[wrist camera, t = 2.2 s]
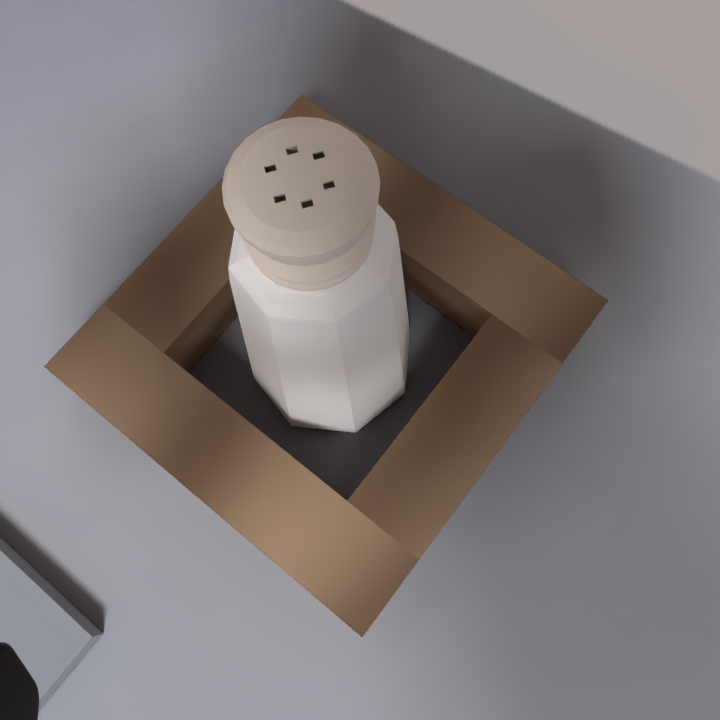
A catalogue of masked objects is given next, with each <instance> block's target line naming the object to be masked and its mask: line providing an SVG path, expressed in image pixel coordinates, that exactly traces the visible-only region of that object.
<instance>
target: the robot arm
mask: <svg viewBox="0 0 720 720" xmlns="http://www.w3.org/2000/svg"><path fill="white" fill-rule="evenodd" d="M38 711H39V691H38V687H37V684H36V682H35V680H34V679H33V677H32V676H31V674H30V673H29V671H28V670H27V668H26V667H25V665H24V664H23V662H22V661H21V659H20V658H19V657H18V655H17V654H16V652H15V651H14V649H13V648H12V647H11V645H9V644H7V643H5V642H0V720H38Z"/></svg>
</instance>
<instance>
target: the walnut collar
mask: <svg viewBox="0 0 720 720" xmlns="http://www.w3.org/2000/svg"><path fill="white" fill-rule="evenodd" d="M294 117H312V118H322V119H325V120H328V121H331V122H334V123H337V124H340V125H341V126H343V127H345V128H346V129H348V130H349V131H351V132H353V133H354V134H356V135H357V136H358V137H359V138H360V139H361V140H362V142H363V143H364V144H365V145H366V146H367V147H368V148H369V150H370V152H371V154H372V156H373V158H374V159H375V161H376V163H377V167H378V172H379V178H380V190H379V199H378V204H379V205H380V206H381V208H382V209H383V210H384V211H385V212H386V213H387V214H388V215H389V216H390V217H391V218H392V219H393V221H394V222H395V225H396V229H397V233H398V238H399V246H400V254H401V262H402V270H403V278H404V286H405V287H406V288H407V289H409V290H410V291H411V292H413V293H414V294H416V295H417V296H418V297H420V298H421V299H423V300H424V301H425V302H427V303H428V304H430V305H431V306H432V307H434V308H435V309H437V310H438V311H439V312H441V313H442V314H444V315H445V316H446V317H448V318H449V319H451V320H452V321H453V322H455V323H456V324H458V325H459V326H460V327H462V328H463V329H465V330H466V331H467V332H469V333H470V334H472V335H473V336H474V338H473V339H472V341H471V342H470V343H469V345H468V346H467V347H466V348H465V350H464V351H463V352H462V354H461V355H460V356H459V357H458V359H457V360H456V361H455V363H454V364H453V365H452V366H451V368H450V369H449V370H448V372H447V373H446V374H445V375H444V377H443V378H442V379H441V381H440V382H439V383H438V384H437V386H436V387H435V388H434V390H433V391H432V392H431V393H430V395H429V396H428V397H427V399H426V400H425V401H424V403H423V404H422V405H421V406H420V408H419V409H418V410H417V412H416V413H415V414H414V415H413V417H412V418H411V419H410V421H409V422H408V423H407V424H406V426H405V427H404V428H403V430H402V431H401V432H400V433H399V435H398V436H397V437H396V439H395V440H394V441H393V442H392V444H391V445H390V446H389V448H388V449H387V450H386V451H385V453H384V454H383V455H382V457H381V458H380V459H379V460H378V462H377V463H376V464H375V466H374V467H373V468H372V470H371V471H370V472H369V473H368V475H367V476H366V477H365V479H364V480H363V481H362V482H361V484H360V485H359V486H358V488H357V489H356V490H355V491H354V493H353V494H352V495H351V497H350V498H349V499H348V500H345V499H344V498H343V497H342V496H340V495H339V494H338V493H337V492H335V491H334V490H333V489H332V488H330V487H329V486H328V485H327V484H326V483H324V482H323V481H322V480H321V479H319V478H318V477H317V476H316V475H314V474H313V473H312V472H311V471H309V470H308V469H307V468H306V467H304V466H303V465H302V464H301V463H300V462H298V461H297V460H296V459H295V458H293V457H292V456H291V455H290V454H288V453H287V452H286V451H285V450H283V449H282V448H281V447H280V446H278V445H277V444H276V443H275V442H273V441H272V440H271V439H270V438H269V437H267V436H266V435H265V434H264V433H262V432H261V431H260V430H259V429H257V428H256V427H255V426H254V425H252V424H251V423H250V422H249V421H247V420H246V419H245V418H244V417H243V416H241V415H240V414H239V413H238V412H236V411H235V410H234V409H233V408H231V407H230V406H229V405H228V404H226V403H225V402H224V401H223V400H221V399H220V398H219V397H218V396H216V395H215V394H214V393H213V392H212V391H210V390H209V389H208V388H207V387H205V386H204V385H203V384H202V383H200V382H199V381H198V380H197V379H195V378H194V377H193V376H192V375H190V374H189V373H188V371H189V370H190V369H191V368H192V367H193V366H194V365H195V363H196V362H197V361H198V360H199V359H200V358H201V357H202V356H203V354H204V353H205V352H206V351H207V350H208V349H209V348H210V347H211V345H212V344H213V343H214V342H215V341H216V340H217V339H218V338H219V336H220V335H221V334H222V333H223V332H224V331H225V330H226V328H227V327H228V326H229V325H230V324H231V323H232V322H233V321H234V319H235V318H236V317H237V316H238V313H237V309H236V305H235V301H234V297H233V293H232V289H231V285H230V279H229V271H228V265H229V258H230V253H231V247H232V241H233V236H234V230H235V228H234V227H233V225H232V223H231V221H230V219H229V216H228V214H227V212H226V209H225V207H224V204H223V195H222V182H223V179H222V180H221V181H220V182H219V183H218V184H217V185H216V186H215V187H214V188H213V189H212V190H211V191H210V192H209V193H208V194H207V196H206V197H205V198H204V199H203V200H202V201H201V202H200V203H199V204H198V205H197V206H196V207H195V208H194V209H193V210H192V211H191V212H190V213H189V214H188V216H187V217H186V218H185V219H184V220H183V221H182V222H181V223H180V224H179V225H178V226H177V227H176V228H175V229H174V230H173V231H172V232H171V233H170V234H169V236H168V237H167V238H166V239H165V240H164V241H163V242H162V243H161V244H160V245H159V246H158V247H157V248H156V249H155V250H154V251H153V252H152V253H151V254H150V256H149V257H148V258H147V259H146V260H145V261H144V262H143V263H142V264H141V265H140V266H139V267H138V268H137V269H136V270H135V271H134V272H133V273H132V274H131V276H130V277H129V278H128V279H127V280H126V281H125V282H124V283H123V284H122V285H121V286H120V287H119V288H118V289H117V290H116V291H115V292H114V293H113V294H112V296H111V297H110V298H109V299H108V300H107V301H106V302H105V303H104V304H103V305H102V306H101V307H100V308H99V309H98V310H97V311H96V312H95V313H94V314H93V316H92V317H91V318H90V319H89V320H88V321H87V322H86V323H85V324H84V325H83V326H82V327H81V328H80V329H79V330H78V331H77V332H76V333H75V334H74V336H73V337H72V338H71V339H70V340H69V341H68V342H67V343H66V344H65V345H64V346H63V347H62V348H61V349H60V350H59V351H58V352H57V353H56V354H55V356H54V357H53V358H52V359H51V360H50V361H49V362H48V363H47V364H46V365H45V366H44V367H45V368H47V369H48V370H49V371H50V372H51V373H52V374H54V375H55V376H56V377H57V378H58V379H59V380H61V381H62V382H63V383H64V384H65V385H67V386H68V387H69V388H70V389H71V390H72V391H74V392H75V393H76V394H77V395H78V396H79V397H81V398H82V399H83V400H84V401H85V402H86V403H88V404H89V405H90V406H91V407H92V408H94V409H95V410H96V411H97V412H98V413H99V414H101V415H102V416H103V417H104V418H105V419H106V420H108V421H109V422H110V423H111V424H112V425H113V426H115V427H116V428H117V429H118V430H119V431H121V432H122V433H123V434H124V435H125V436H126V437H128V438H129V439H130V440H131V441H132V442H133V443H135V444H136V445H137V446H138V447H139V448H140V449H142V450H143V451H144V452H145V453H146V454H148V455H149V456H150V457H151V458H152V459H153V460H155V461H156V462H157V463H158V464H159V465H160V466H162V467H163V468H164V469H165V470H166V471H167V472H169V473H170V474H171V475H172V476H173V477H175V478H176V479H177V480H178V481H179V482H180V483H182V484H183V485H184V486H185V487H186V488H187V489H189V490H190V491H191V492H192V493H193V494H195V495H196V496H197V497H198V498H199V499H200V500H202V501H203V502H204V503H205V504H206V505H207V506H209V507H210V508H211V509H212V510H213V511H214V512H216V513H217V514H218V515H219V516H220V517H222V518H223V519H224V520H225V521H226V522H227V523H229V524H230V525H231V526H232V527H233V528H234V529H236V530H237V531H238V532H239V533H240V534H241V535H243V536H244V537H245V538H246V539H247V540H249V541H250V542H251V543H252V544H253V545H254V546H256V547H257V548H258V549H259V550H260V551H261V552H263V553H264V554H265V555H266V556H267V557H268V558H270V559H271V560H272V561H273V562H274V563H276V564H277V565H278V566H279V567H280V568H281V569H283V570H284V571H285V572H286V573H287V574H288V575H290V576H291V577H292V578H293V579H294V580H295V581H297V582H298V583H299V584H300V585H301V586H303V587H304V588H305V589H306V590H307V591H308V592H310V593H311V594H312V595H313V596H314V597H315V598H317V599H318V600H319V601H320V602H321V603H322V604H324V605H325V606H326V607H327V608H328V609H330V610H331V611H332V612H333V613H334V614H335V615H337V616H338V617H339V618H340V619H341V620H342V621H344V622H345V623H346V624H347V625H348V626H349V627H351V628H352V629H353V630H354V631H355V632H357V633H358V634H359V635H360V636H361V637H363V636H364V634H365V633H366V632H367V630H368V629H369V627H370V626H371V625H372V623H373V622H374V621H375V619H376V618H377V616H378V615H379V614H380V612H381V611H382V610H383V608H384V607H385V605H386V604H387V603H388V601H389V600H390V599H391V597H392V596H393V595H394V593H395V592H396V590H397V589H398V588H399V586H400V585H401V584H402V582H403V581H404V579H405V578H406V577H407V575H408V574H409V573H410V571H411V570H412V568H413V567H414V566H415V564H416V563H417V562H418V560H419V559H420V558H421V556H422V555H423V553H424V552H425V551H426V549H427V548H428V547H429V545H430V544H431V542H432V541H433V540H434V538H435V537H436V536H437V534H438V533H439V531H440V530H441V529H442V527H443V526H444V525H445V523H446V522H447V521H448V519H449V518H450V516H451V515H452V514H453V512H454V511H455V510H456V508H457V507H458V505H459V504H460V503H461V501H462V500H463V499H464V497H465V496H466V494H467V493H468V492H469V490H470V489H471V488H472V486H473V485H474V484H475V482H476V481H477V479H478V478H479V477H480V475H481V474H482V473H483V471H484V470H485V468H486V467H487V466H488V464H489V463H490V462H491V460H492V459H493V457H494V456H495V455H496V453H497V452H498V451H499V449H500V448H501V447H502V445H503V444H504V442H505V441H506V440H507V438H508V437H509V436H510V434H511V433H512V431H513V430H514V429H515V427H516V426H517V425H518V423H519V422H520V420H521V419H522V418H523V416H524V415H525V414H526V412H527V411H528V410H529V408H530V407H531V405H532V404H533V403H534V401H535V400H536V399H537V397H538V396H539V394H540V393H541V392H542V390H543V389H544V388H545V386H546V385H547V383H548V382H549V381H550V379H551V378H552V377H553V375H554V374H555V373H556V371H557V370H558V368H559V367H560V366H561V364H562V363H563V362H564V360H565V359H566V357H567V356H568V355H569V353H570V352H571V351H572V349H573V348H574V347H575V345H576V344H577V342H578V341H579V340H580V338H581V337H582V336H583V334H584V333H585V331H586V330H587V329H588V327H589V326H590V325H591V323H592V322H593V320H594V319H595V318H596V316H597V315H598V314H599V312H600V311H601V310H602V308H603V307H604V305H605V304H606V303H607V301H608V300H607V299H605V298H604V297H602V296H601V295H599V294H598V293H596V292H595V291H593V290H592V289H590V288H589V287H587V286H586V285H584V284H583V283H581V282H580V281H578V280H577V279H575V278H574V277H573V276H571V275H570V274H568V273H567V272H565V271H564V270H562V269H561V268H559V267H558V266H556V265H555V264H553V263H552V262H550V261H549V260H547V259H546V258H544V257H543V256H541V255H540V254H538V253H537V252H535V251H534V250H532V249H531V248H529V247H528V246H526V245H525V244H523V243H522V242H520V241H519V240H517V239H516V238H514V237H513V236H511V235H510V234H508V233H507V232H506V231H504V230H503V229H501V228H500V227H498V226H497V225H495V224H494V223H492V222H491V221H489V220H488V219H486V218H485V217H483V216H482V215H480V214H479V213H477V212H476V211H474V210H473V209H471V208H470V207H468V206H467V205H465V204H464V203H462V202H461V201H459V200H458V199H456V198H455V197H453V196H452V195H450V194H449V193H447V192H446V191H444V190H443V189H441V188H440V187H438V186H437V185H436V184H434V183H433V182H431V181H430V180H428V179H427V178H425V177H424V176H422V175H421V174H419V173H418V172H416V171H415V170H413V169H412V168H410V167H409V166H407V165H406V164H404V163H403V162H401V161H400V160H398V159H397V158H395V157H394V156H392V155H391V154H389V153H388V152H386V151H385V150H383V149H382V148H380V147H379V146H377V145H376V144H374V143H373V142H371V141H370V140H369V139H367V138H366V137H364V136H363V135H361V134H360V133H358V132H357V131H355V130H354V129H352V128H351V127H349V126H348V125H346V124H345V123H343V122H342V121H340V120H339V119H337V118H336V117H334V116H333V115H331V114H330V113H328V112H327V111H325V110H324V109H322V108H321V107H319V106H318V105H316V104H315V103H313V102H312V101H310V100H309V99H307V98H306V97H304V96H303V95H302V96H301V97H300V98H299V99H298V100H297V101H296V102H295V103H294V104H293V105H292V106H291V107H290V108H289V109H288V110H287V111H286V112H285V113H284V115H283V116H282V117H281V118H280V119H279V120H281V119H287V118H294Z"/></svg>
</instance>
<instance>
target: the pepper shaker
mask: <svg viewBox="0 0 720 720" xmlns="http://www.w3.org/2000/svg"><path fill="white" fill-rule="evenodd" d="M379 190H380V178H379V172H378V167H377V163H376V161H375V159H374V158H373V156H372V154H371V152H370V150H369V148H368V147H367V146H366V145H365V144H364V143H363V142H362V140H361V139H360V138H359V137H358V136H357V135H356V134H354V133H353V132H351V131H349V130H348V129H346V128H345V127H343V126H341V125H340V124H337V123H334V122H331V121H328V120H325V119H322V118H312V117H294V118H287V119H281V120H278V121H276V122H273V123H270V124H268V125H265V126H263V127H261V128H260V129H258V130H257V131H255V132H254V133H252V134H251V135H249V136H248V137H246V138H245V140H244V141H243V142H242V143H241V144H240V145H239V146H238V147H237V149H236V150H235V151H234V152H233V154H232V156H231V158H230V160H229V162H228V164H227V166H226V168H225V172H224V177H223V182H222V195H223V204H224V207H225V209H226V212H227V214H228V216H229V219H230V221H231V223H232V225H233V227H234V228H235V230H234V236H233V241H232V247H231V253H230V258H229V265H228V271H229V279H230V285H231V289H232V293H233V297H234V301H235V305H236V309H237V313H238V317H239V321H240V325H241V329H242V333H243V337H244V341H245V344H246V348H247V352H248V356H249V360H250V364H251V368H252V372H253V376H254V379H255V380H256V381H257V383H258V384H259V385H260V386H261V388H262V389H263V390H264V391H265V393H266V394H267V395H268V396H269V398H270V399H271V400H272V402H273V403H274V404H275V405H276V407H277V408H278V409H279V410H280V412H281V413H282V414H283V415H284V417H285V418H286V419H287V421H288V422H289V423H290V424H291V426H295V427H305V428H314V429H324V430H334V431H344V432H353V433H356V432H357V431H358V430H360V429H361V428H362V427H363V426H365V425H366V424H367V423H368V422H370V421H371V420H372V419H373V418H375V417H376V416H377V415H378V414H380V413H381V412H382V411H383V410H385V409H386V408H387V407H388V406H390V405H391V404H392V403H393V402H395V401H396V400H397V399H398V398H400V397H401V396H402V395H403V394H405V387H406V376H407V365H408V353H409V342H410V327H409V319H408V311H407V303H406V294H405V286H404V278H403V270H402V262H401V254H400V246H399V238H398V233H397V229H396V225H395V222H394V221H393V219H392V218H391V217H390V216H389V215H388V214H387V213H386V212H385V211H384V210H383V209H382V208H381V206H380V205H379V204H378V199H379Z"/></svg>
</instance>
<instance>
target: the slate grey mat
mask: <svg viewBox="0 0 720 720" xmlns="http://www.w3.org/2000/svg"><path fill="white" fill-rule="evenodd" d="M102 635H103V633H102V632H101V631H100V630H99V629H98V628H97V627H96V626H95V625H94V624H93V623H91V622H90V621H89V620H88V619H87V618H86V617H85V616H84V615H83V614H82V613H81V612H80V611H79V610H78V609H77V608H75V607H74V606H73V605H72V604H71V603H70V602H69V601H68V600H67V599H66V598H65V597H64V596H63V595H62V594H61V593H59V592H58V591H57V590H56V589H55V588H54V587H53V586H52V585H51V584H50V583H49V582H48V581H47V580H46V579H45V578H43V577H42V576H41V575H40V574H39V573H38V572H37V571H36V570H35V569H34V568H33V567H32V566H31V565H30V564H29V563H27V562H26V561H25V560H24V559H23V558H22V557H21V556H20V555H19V554H18V553H17V552H16V551H15V550H14V549H13V548H11V547H10V546H9V545H8V544H7V543H6V542H5V541H4V540H3V539H2V538H1V537H0V642H5V643H7V644H9V645H11V647H12V648H13V649H14V651H15V652H16V654H17V655H18V657H19V658H20V659H21V661H22V662H23V664H24V665H25V667H26V668H27V670H28V671H29V673H30V674H31V676H32V677H33V679H34V680H35V682H36V684H37V687H38V691H39V710H40V709H41V708H42V707H43V706H44V704H45V703H46V702H47V701H48V700H49V698H50V697H51V696H52V695H53V694H54V692H55V691H56V690H57V689H58V688H59V686H60V685H61V684H62V683H63V682H64V680H65V679H66V678H67V677H68V675H69V674H70V673H71V672H72V671H73V669H74V668H75V667H76V666H77V665H78V663H79V662H80V661H81V660H82V659H83V657H84V656H85V655H86V654H87V653H88V651H89V650H90V649H91V648H92V647H93V645H94V644H95V643H96V642H97V641H98V639H99V638H100V637H101V636H102ZM38 712H39V711H38Z"/></svg>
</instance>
